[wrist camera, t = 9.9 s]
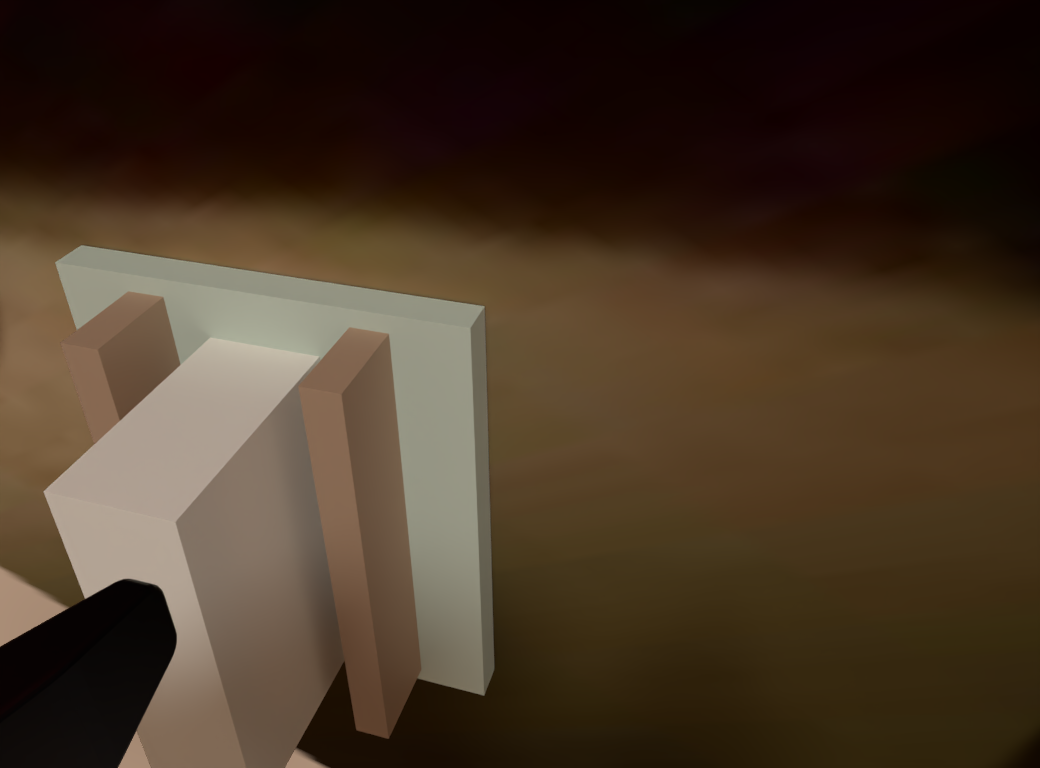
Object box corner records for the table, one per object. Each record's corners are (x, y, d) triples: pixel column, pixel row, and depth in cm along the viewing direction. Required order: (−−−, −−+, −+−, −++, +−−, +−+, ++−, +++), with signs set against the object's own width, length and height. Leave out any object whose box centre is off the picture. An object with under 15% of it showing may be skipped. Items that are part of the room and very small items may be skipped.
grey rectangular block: (319, 356, 22) (175, 522, 18) (360, 632, 28) (259, 813, 23) (210, 337, 23) (43, 491, 18) (271, 610, 29) (156, 781, 24)
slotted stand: (484, 306, 21) (429, 390, 19) (494, 669, 29) (455, 767, 26) (81, 245, 24) (-19, 310, 21) (185, 592, 31) (121, 674, 29)
